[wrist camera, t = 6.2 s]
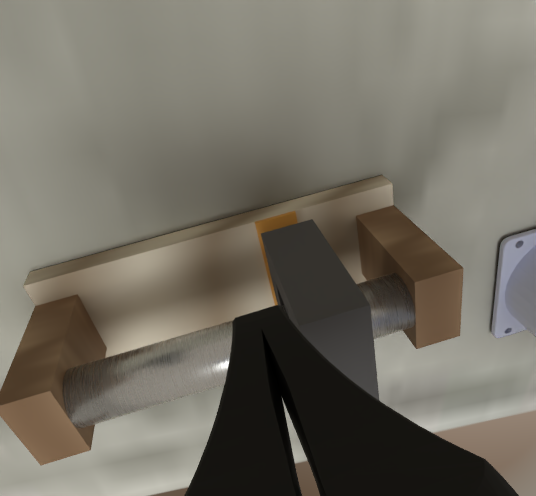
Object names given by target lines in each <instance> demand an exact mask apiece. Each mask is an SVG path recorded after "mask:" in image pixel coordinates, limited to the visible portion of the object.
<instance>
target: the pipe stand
mask: <svg viewBox="0 0 536 496" xmlns="http://www.w3.org/2000/svg"><path fill="white" fill-rule="evenodd" d="M311 219H313V221H314V222H315V224H316V225H317V227H318V228H319V230H320V231H321V233H322V234H323V235H324V237H325V238H326V240H327V241H328V243H329V244H330V246H331V247H332V249H333V250H334V252H335V253H336V255H337V256H338V258H339V259H340V261H341V262H342V264H343V265H344V267H345V268H346V270H347V271H348V272H349V274H350V275H351V277H352V278H353V280H354V281H355V283H356V284H357V286H358V287H359V289H360V290H361V292H362V293H363V295H364V296H365V298H366V299H367V301H368V302H369V304H370V307H371V318H372V329H373V339H376V338H379V337H382V336H385V335H389V334H392V333H395V332H399V331H402V330H403V331H404V333H405V334H406V335H407V337H408V338H409V340H410V341H411V342H412V344H413V345H414V346H415V348H416V349H418V348H422V347H425V346H428V345H431V344H435V343H438V342H441V341H444V340H447V339H451V338H454V337H457V336H460V325H461V305H462V285H463V267H462V266H461V265H459V264H458V263H457V262H456V261H455V260H454V259H453V258H452V257H451V256H449V255H448V254H447V253H446V252H445V251H444V250H443V249H442V248H441V247H439V246H438V245H437V244H436V243H435V242H434V241H433V240H432V239H431V238H429V237H428V236H427V235H426V234H425V233H424V232H423V231H422V230H421V229H419V228H418V227H417V226H416V225H415V224H414V223H413V222H412V221H411V220H409V219H408V218H407V217H406V216H405V215H404V214H403V213H402V212H401V211H399V210H398V209H397V208H396V207H395V206H394V205H393V184H392V183H391V182H390V181H389V180H387V179H386V178H385V177H384V176H383V175H380V176H377V177H373V178H369V179H366V180H362V181H359V182H355V183H351V184H348V185H344V186H340V187H337V188H333V189H330V190H326V191H322V192H319V193H315V194H311V195H308V196H304V197H300V198H297V199H293V200H290V201H286V202H282V203H279V204H275V205H271V206H268V207H264V208H261V209H257V210H253V211H250V212H246V213H242V214H239V215H235V216H231V217H228V218H224V219H221V220H217V221H213V222H210V223H206V224H202V225H199V226H195V227H192V228H188V229H184V230H181V231H177V232H173V233H170V234H166V235H163V236H159V237H155V238H152V239H148V240H144V241H141V242H137V243H133V244H130V245H126V246H123V247H119V248H115V249H112V250H108V251H104V252H101V253H97V254H94V255H90V256H86V257H83V258H79V259H75V260H72V261H68V262H64V263H61V264H57V265H54V266H50V267H46V268H43V269H39V270H35V271H32V272H30V273H29V275H28V277H27V279H26V281H25V283H24V285H23V287H24V288H25V290H26V292H27V293H28V295H29V296H30V298H31V300H32V301H33V303H34V305H35V308H34V311H33V313H32V316H31V318H30V320H29V323H28V325H27V328H26V330H25V333H24V335H23V337H22V340H21V342H20V345H19V347H18V350H17V352H16V354H15V357H14V359H13V362H12V364H11V367H10V369H9V371H8V374H7V376H6V379H5V381H4V384H3V386H2V388H1V391H0V416H1V417H2V419H3V420H4V421H5V422H6V423H7V425H8V426H9V427H10V428H11V430H12V431H13V432H14V433H15V434H16V436H17V437H18V438H19V439H20V441H21V442H22V443H23V444H24V445H25V447H26V448H27V449H28V450H29V452H30V453H31V454H32V455H33V456H34V458H35V459H36V460H37V461H38V463H39V464H40V465H44V464H47V463H50V462H54V461H57V460H60V459H63V458H66V457H70V456H73V455H76V454H79V453H83V452H86V451H89V450H91V445H92V439H93V432H94V426H95V424H97V423H101V422H104V421H107V420H110V419H114V418H117V417H120V416H123V415H127V414H130V413H133V412H137V411H140V410H143V409H146V408H150V407H153V406H156V405H159V404H163V403H166V402H169V401H173V400H176V399H179V398H182V397H186V396H189V395H192V394H195V393H199V392H202V391H205V390H209V389H212V388H215V387H218V386H222V385H225V381H226V376H227V370H228V365H229V359H230V353H231V345H232V330H233V327H232V322H233V320H234V319H235V318H236V317H239V316H242V315H246V314H249V313H252V312H255V311H259V310H262V309H265V308H268V307H272V306H275V305H278V304H277V299H276V295H275V291H274V287H273V283H272V278H271V274H270V270H269V266H268V262H267V257H266V253H265V249H264V245H263V241H262V237H261V233H264V232H268V231H272V230H275V229H279V228H282V227H286V226H289V225H293V224H297V223H300V222H304V221H307V220H311ZM281 307H282V308H283V310H284V311H285V313H286V314H287V316H288V317H289V315H288V313H287V310H286V308H285V305H283V306H281ZM289 319H290V318H289Z"/></svg>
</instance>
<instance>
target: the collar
mask: <svg viewBox="0 0 536 496" xmlns="http://www.w3.org/2000/svg"><path fill="white" fill-rule="evenodd" d="M261 237H262V241H263V245H264V249H265V253H266V257H267V262H268V266H269V270H270V274H271V278H272V283H273V287H274V291H275V295H276V299H277V304H278V305H279V306H283V305H285V308H286V310H287V313H288V315H289V318H290V320H291V321H292V322H293V324H294V325H295V326H296V327H297V329H298V330H299V331H300V332H301V333H302V334H303V335H304V337H305V338H306V339H307V340H308V341H309V342H310V343H311V344H312V345H313V346H314V347H315V348H316V349H317V350H318V351H319V352H320V353H321V354H322V355H323V356H324V357H325V358H326V359H327V360H328V361H329V362H331V363H332V364H333V365H334V366H335V367H336V368H337V369H338V370H340V371H341V372H342V373H343V374H344V375H346V376H347V377H348V378H349V379H350V380H352V381H353V382H354V383H355V384H357V385H358V386H359V387H361V388H362V389H363V390H365V391H366V392H367V393H369V394H370V395H372V396H373V397H374V398H376V399H377V400H379V393H378V382H377V372H376V361H375V350H374V339H373V329H372V318H371V307H370V304H369V302H368V301H367V299H366V298H365V296H364V295H363V293H362V292H361V290H360V289H359V287H358V286H357V284H356V283H355V281H354V280H353V278H352V277H351V275H350V274H349V272H348V271H347V270H346V268H345V267H344V265H343V264H342V262H341V261H340V259H339V258H338V256H337V255H336V253H335V252H334V250H333V249H332V247H331V246H330V244H329V243H328V241H327V240H326V238H325V237H324V235H323V234H322V233H321V231H320V230H319V228H318V227H317V225H316V224H315V222H314V221H313V219H311V220H307V221H304V222H300V223H297V224H293V225H289V226H286V227H282V228H279V229H275V230H272V231H268V232H264V233H261Z"/></svg>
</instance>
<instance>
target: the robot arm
mask: <svg viewBox="0 0 536 496" xmlns="http://www.w3.org/2000/svg"><path fill="white" fill-rule="evenodd" d="M517 242H518V243H517ZM516 243H517V244H516ZM232 327H233V330H232V345H231V353H230V359H229V365H228V370H227V376H226V381H225V385H224V389H223V393H222V397H221V401H220V405H219V408H218V412H217V415H216V418H215V422H214V425H213V428H212V431H211V434H210V436H209V439H208V442H207V445H206V447H205V450H204V452H203V455H202V457H201V460H200V462H199V465H198V467H197V470H196V472H195V474H194V477H193V479H192V481H191V483H190V486H189V488H188V490H187V492H186V494H185V496H302V494H301V490H300V486H299V482H298V477H297V473H296V468H295V463H294V458H293V453H292V448H291V442H290V437H289V432H288V427H287V422H286V417H285V412H284V406H283V401H284V403H285V406H286V408H287V411H288V413H289V415H290V418H291V420H292V423H293V425H294V428H295V430H296V433H297V435H298V437H299V440H300V442H301V445H302V447H303V450H304V452H305V455H306V457H307V460H308V462H309V464H310V467H311V470H312V472H313V475H314V478H315V481H316V483H317V487H318V490H319V493H320V496H519V495H518V494H517V493H516V492H515V490H514V489H513V488H512V487H511V486H510V485H509V484H508V483H507V481H506V480H505V479H504V478H503V477H502V476H501V475H500V474H499V473H498V472H497V471H496V470H495V469H494V468H493V467H492V466H491V464H489V463H488V462H487V461H486V460H485V459H484V458H481V457H479V456H477V455H475V454H473V453H471V452H469V451H467V450H464V449H462V448H460V447H458V446H456V445H454V444H452V443H450V442H448V441H446V440H444V439H442V438H440V437H439V436H437V435H435V434H433V433H431V432H429V431H428V430H426V429H424V428H422V427H420V426H418V425H417V424H415V423H414V422H412V421H410V420H409V419H407V418H405V417H404V416H402V415H401V414H399V413H397V412H396V411H394V410H393V409H391V408H389V407H388V406H386V405H385V404H383V403H382V402H380V401H379V400H377V399H376V398H374V397H373V396H372V395H370V394H369V393H367V392H366V391H365V390H363V389H362V388H361V387H359V386H358V385H357V384H355V383H354V382H353V381H352V380H350V379H349V378H348V377H347V376H346V375H344V374H343V373H342V372H341V371H340V370H338V369H337V368H336V367H335V366H334V365H333V364H332V363H331V362H329V361H328V360H327V359H326V358H325V357H324V356H323V355H322V354H321V353H320V352H319V351H318V350H317V349H316V348H315V347H314V346H313V345H312V344H311V343H310V342H309V341H308V340H307V339H306V338H305V337H304V335H303V334H302V333H301V332H300V331H299V330H298V329H297V327H296V326H295V325H294V324H293V322H292V321H291V320H290V319H289V317H288V316H287V314H286V313H285V311H284V310H283V308H282V307H281V306H279V305H275V306H272V307H268V308H265V309H262V310H259V311H255V312H252V313H249V314H246V315H242V316H239V317H236V318H235V319H234V320H233V322H232ZM527 329H528V330H529V331H530V332H531V333H532V334H533V335H534V336H535V337H536V229H533V230H530V231H526V232H523V233H520V234H516V235H513V236H509V237H507V238H505V239H504V240H503V241H502V242H501V245H500V252H499V262H498V272H497V281H496V291H495V301H494V311H493V320H492V330H491V332H492V334H493V335H494V336H495V337H496V338H501V337H505V336H508V335H511V334H514V333H517V332H521V331H524V330H527ZM282 398H283V401H282Z"/></svg>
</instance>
